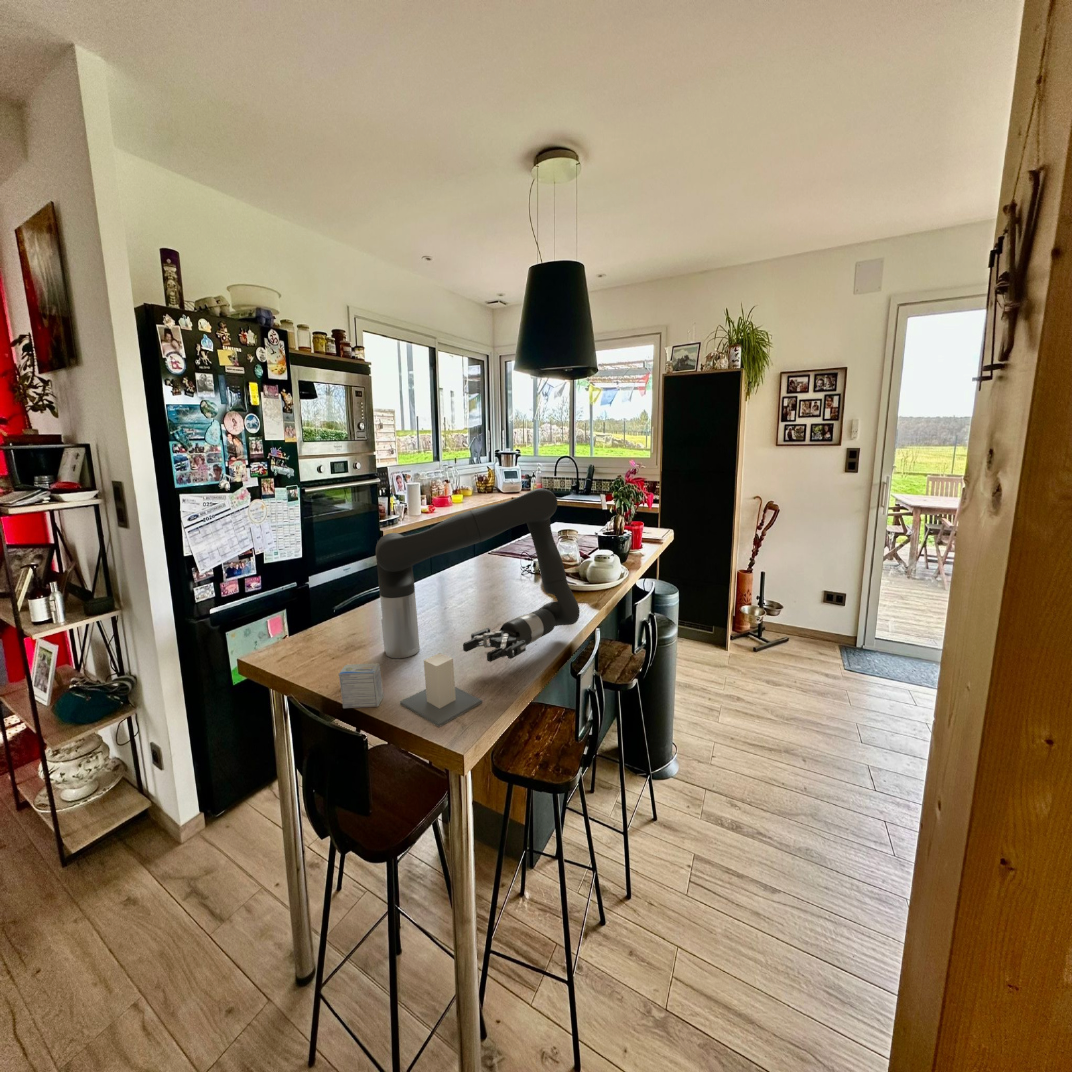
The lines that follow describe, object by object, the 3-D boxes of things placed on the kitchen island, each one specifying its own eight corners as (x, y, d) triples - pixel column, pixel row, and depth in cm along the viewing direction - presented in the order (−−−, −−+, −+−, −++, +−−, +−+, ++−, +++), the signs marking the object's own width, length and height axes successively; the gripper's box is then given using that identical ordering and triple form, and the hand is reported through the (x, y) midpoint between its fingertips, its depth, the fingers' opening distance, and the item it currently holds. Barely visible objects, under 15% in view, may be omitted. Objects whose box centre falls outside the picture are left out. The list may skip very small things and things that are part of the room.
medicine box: (383, 697, 113) (380, 662, 111) (378, 707, 109) (374, 671, 107) (349, 698, 113) (345, 663, 111) (342, 709, 108) (338, 673, 106)
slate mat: (400, 703, 110) (400, 701, 110) (442, 682, 118) (442, 680, 118) (438, 727, 101) (438, 724, 100) (482, 702, 109) (481, 700, 109)
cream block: (427, 701, 109) (423, 660, 107) (443, 693, 112) (440, 653, 110) (439, 708, 106) (436, 666, 104) (455, 699, 110) (452, 658, 108)
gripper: (502, 611, 131) (455, 630, 120) (542, 624, 122) (495, 645, 110) (503, 637, 133) (457, 658, 121) (543, 651, 124) (497, 676, 112)
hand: (475, 652), depth 116 cm, fingers open, 8 cm apart
